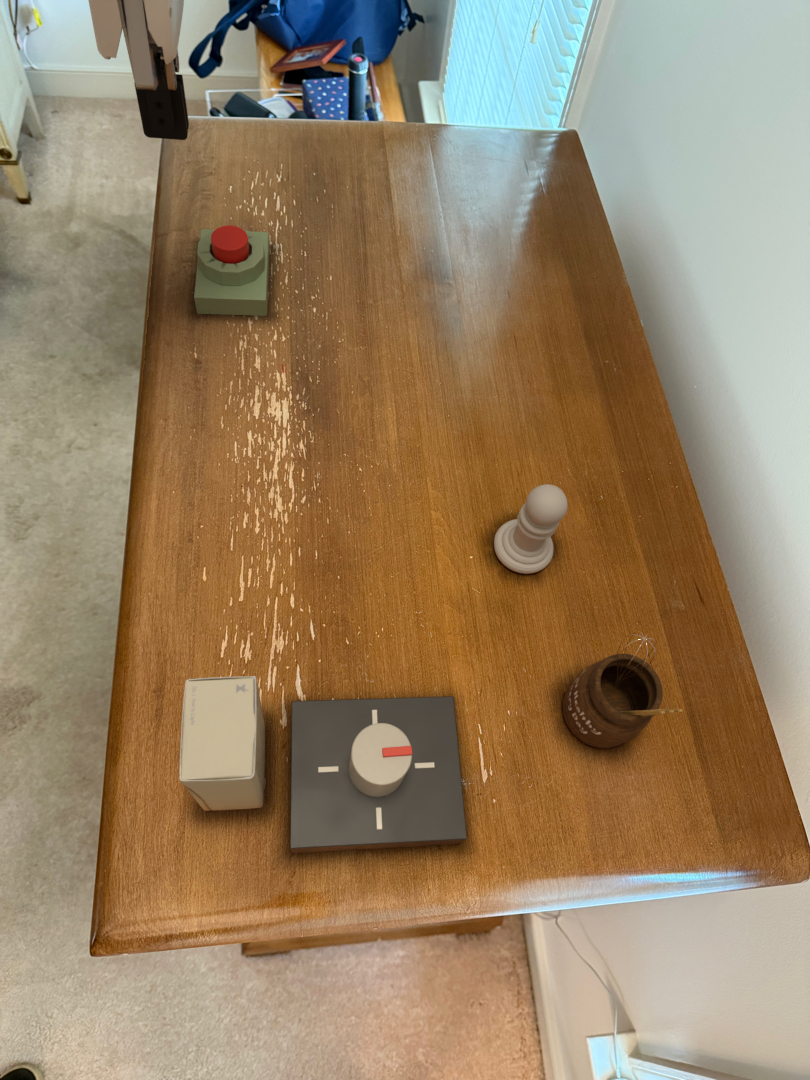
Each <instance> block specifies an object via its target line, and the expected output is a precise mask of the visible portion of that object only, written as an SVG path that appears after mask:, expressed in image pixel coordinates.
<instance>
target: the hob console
mask: <svg viewBox="0 0 810 1080" xmlns="http://www.w3.org/2000/svg"><path fill="white" fill-rule="evenodd" d="M456 717H457V716H456V708H455V697H454V695H451V696H449V695H446V696H416V697H415V696H413V697H384V698H383V697H382V698H381V697H380V698H349V699H348V698H346V699H315V700H313V699H312V700H311V699H310V700H292V701H291V718H290V719H291V720H290V721H291V722H290V728H291V729H290V731H291V732H290V739H291V740H290V803H289V804H290V805H289V807H290V809H289V811H290V812H289V849H290V853H291V854H304V853H305V854H307V853H323V852H339V851H340V852H342V851H343V852H344V851H360V850H378V849H394V848H395V849H396V848H413V847H414V848H415V847H416V848H417V847H429V846H430V847H432V846H451V845H460V844H462V843H463V842H464V841H466V840H468V833H467V821H466V813H465V810H466V809H465V801H464V800H465V799H464V791H463V780H462V770H461V759H460V748H459V739H458V738H459V736H458V728H457V718H456ZM376 723H386V724H391V725H393V726H395V727H397V728H399V729H400V730H401V731H402V732H403V733H404V734H405V735H406V736H407V738H408V740H409V742H410V744H411V746H412V761H411V764H410V767H409V769H408V771H407V773H406V775H405V777H404V778H403V780H402V782H401V784H400V785H399V787H398V788H397V789H396V790H395V791H393V792H392V793H390V794H388V795H386V796H382V797H372V796H368V795H366V794H364V793H362V792H360V791H359V790H358V789H357V788H356V787H355V786H354V784H353V783H352V781H351V778H350V775H349V759H350V754H351V749H352V745H353V742H354V740H355V738H356V736H357V735H358V734H359V733H360V732H361V731H362V730H363V729H364V728H366V727H367V726H370V725H372V724H376Z"/></svg>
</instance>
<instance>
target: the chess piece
mask: <svg viewBox="0 0 810 1080" xmlns="http://www.w3.org/2000/svg"><path fill="white" fill-rule="evenodd" d="M568 506H569V503H568V499H567V496H566V494H565V492H564V491H563V490H562V489H561V488H560V487H559V486H557V485H555V484H551V483H545V484H540V485H537V486H536V487H534V488H533V489H531V490H530V491H529V493H528V494H527V496H526V499H525V503H524V504H522V506H521V508H520V510H519V512H518V514H517V517H516V518H515V519H511V520H509V521H506V522H505V523H503V524H502V525H501V526H500V527H499V528H498V529H497V531H496V533H495V535H494V538H493V548H494V553H495V555H496V557H497V559H498V560H499V562H500V563H502V565H503V566H505V567H506V568H507V569H509V570H511V571H513V572H515V573H519V574H524V575H529V574H535V573H538V572H540V571H542V570H544V569H545V568H546V567H547V566H549V564H550V563H551V561H552V559H553V556H554V548H555V547H554V542H553V539H552V536H553V535H554V534H555V532H556V530H557V529H558V527H559V525H560V522H561V520H563V519H564V518H565V517H566V515H567V512H568V509H569V507H568Z"/></svg>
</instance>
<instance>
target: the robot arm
mask: <svg viewBox="0 0 810 1080" xmlns="http://www.w3.org/2000/svg"><path fill="white" fill-rule="evenodd" d="M87 1H88V6H89V11H90V16H91V21H92V27H93V32H94V39H95V43H96V47H97V48H96V49H97V51H98V53H99V54H100V56H101V57H102V58H104V59H105V60H111V59H113V58H114V59H117V57H118V51H119V46H120V42H121V38H122V34H123V37H124V40H125V41H124V42H125V45H126V50H127V54H128V59H129V63H130V64H129V65H130V68H131V72H132V76H133V81H134V84H133V85H134V88H135V95H136V99H137V104H138V105H137V106H138V110H139V115H140V121H141V125H142V131H143V134H144V135H145V136H146V137H147V138H150V139H163V140H176V141H186V139H188V136H189V125H190V122H189V115H188V107H187V98H186V92H185V85H184V77H183V74H179V73H180V59H179V48H178V47H179V42H180V35H181V30H182V28H181V27H182V21H183V14H184V5H185V0H87Z"/></svg>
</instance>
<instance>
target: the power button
mask: <svg viewBox="0 0 810 1080" xmlns="http://www.w3.org/2000/svg"><path fill="white" fill-rule="evenodd" d="M241 228H242V227H239V226H236V225H231V224H230V225H222V226H219V227H217V228H215V229H213V230H214V231H213V233H212V235H211V243H212V250H213V255H214V257H215V258H216V259H217V260H218V261H220V262H222V263H225V264H237V263H240V262H242V261H244V260H246V259H247V257H248V256H249V242H248V235H247V233H246V232H245V231H244V230H243V229H244V228H243V229H241Z"/></svg>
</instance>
